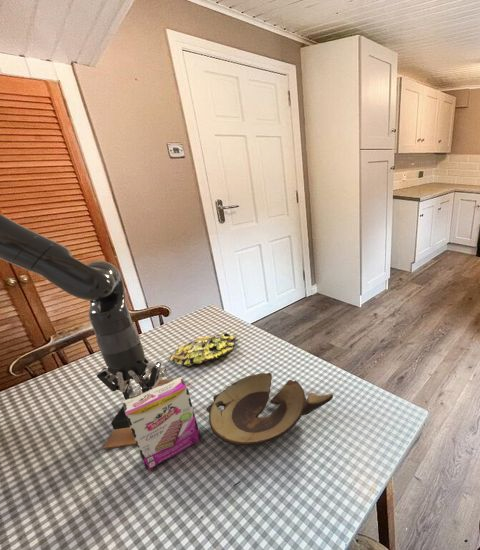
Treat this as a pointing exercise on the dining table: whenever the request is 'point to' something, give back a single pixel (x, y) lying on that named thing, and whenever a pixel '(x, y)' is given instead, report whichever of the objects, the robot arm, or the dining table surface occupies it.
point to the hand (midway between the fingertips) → (140, 398)
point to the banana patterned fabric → (204, 349)
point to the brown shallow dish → (259, 410)
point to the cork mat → (125, 432)
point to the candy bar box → (162, 422)
